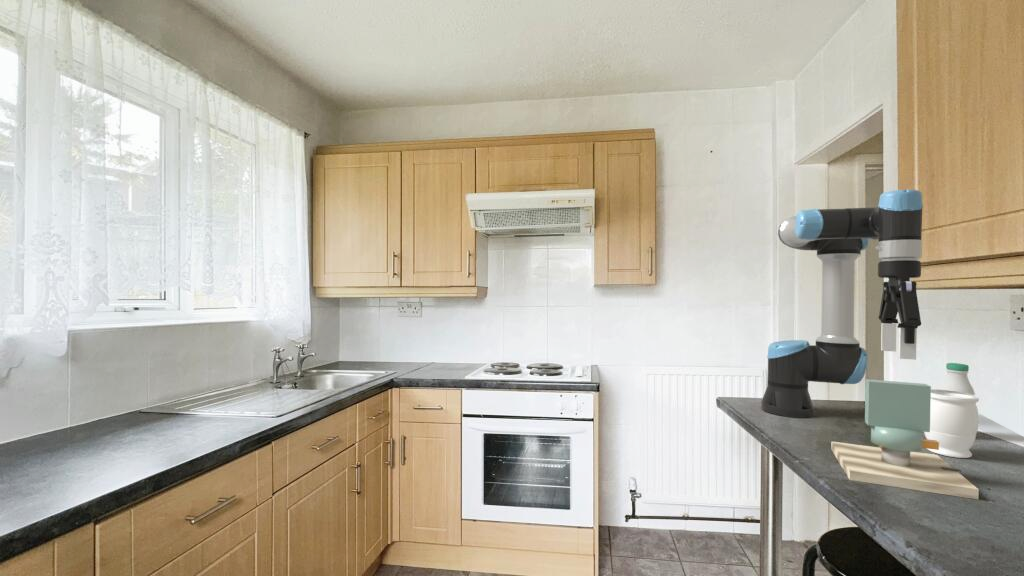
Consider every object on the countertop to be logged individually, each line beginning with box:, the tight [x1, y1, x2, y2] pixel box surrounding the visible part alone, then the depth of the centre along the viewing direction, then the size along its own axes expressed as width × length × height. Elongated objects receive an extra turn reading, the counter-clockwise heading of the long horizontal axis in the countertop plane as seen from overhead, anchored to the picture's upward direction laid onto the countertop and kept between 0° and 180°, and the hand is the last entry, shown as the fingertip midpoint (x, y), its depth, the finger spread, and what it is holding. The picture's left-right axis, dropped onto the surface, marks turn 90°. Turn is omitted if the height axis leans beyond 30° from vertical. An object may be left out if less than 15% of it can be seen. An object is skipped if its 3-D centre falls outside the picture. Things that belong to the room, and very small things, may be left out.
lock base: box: [830, 441, 980, 500], centre depth 108 cm, size 22×22×6 cm
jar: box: [923, 388, 980, 459], centre depth 120 cm, size 11×10×15 cm
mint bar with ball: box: [864, 378, 939, 452], centre depth 107 cm, size 9×13×14 cm
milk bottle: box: [938, 362, 976, 396], centre depth 135 cm, size 8×8×20 cm
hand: (897, 354), depth 107 cm, fingers open, 13 cm apart
